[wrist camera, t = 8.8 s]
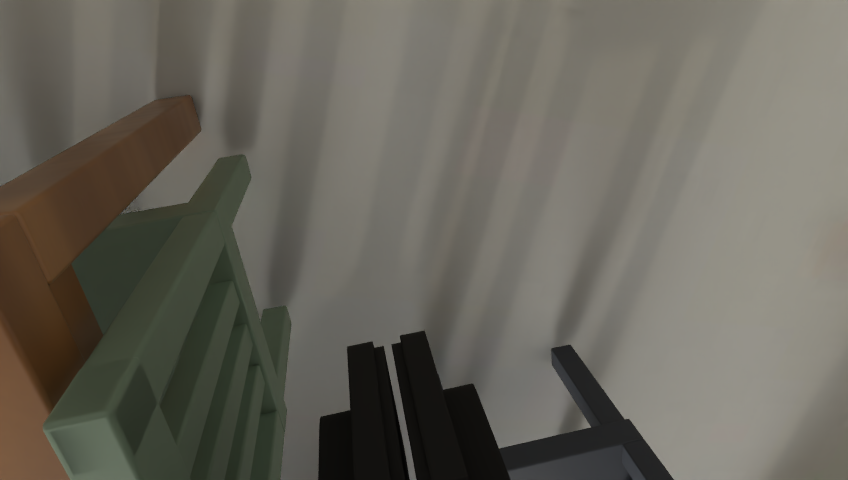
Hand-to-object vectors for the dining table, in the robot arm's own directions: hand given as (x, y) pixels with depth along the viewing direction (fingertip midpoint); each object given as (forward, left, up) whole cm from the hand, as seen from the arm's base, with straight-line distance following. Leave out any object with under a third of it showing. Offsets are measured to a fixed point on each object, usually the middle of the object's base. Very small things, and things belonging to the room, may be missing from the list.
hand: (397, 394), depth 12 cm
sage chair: (+7, 0, -9) cm, 12 cm away
